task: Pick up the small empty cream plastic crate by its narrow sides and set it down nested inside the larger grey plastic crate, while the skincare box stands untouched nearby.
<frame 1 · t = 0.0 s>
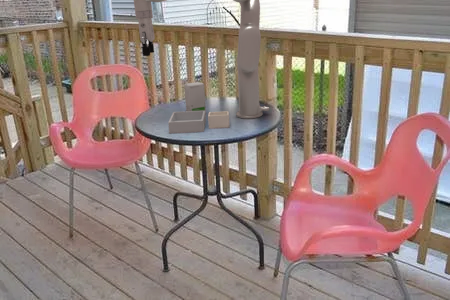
hand: (148, 54, 196), 31 cm above the table, tool pointing down, fingers open, 9 cm apart
small crate: (219, 126, 192), on the table
skincare box: (196, 115, 211), on the table
base crate: (188, 126, 193), on the table
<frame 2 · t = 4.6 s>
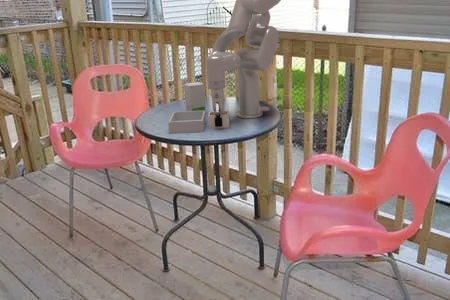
hand: (219, 123, 192), 1 cm above the table, tool pointing down, fingers closed on small crate, 6 cm apart
small crate: (219, 126, 192), on the table, touching gripper
everything else where it was.
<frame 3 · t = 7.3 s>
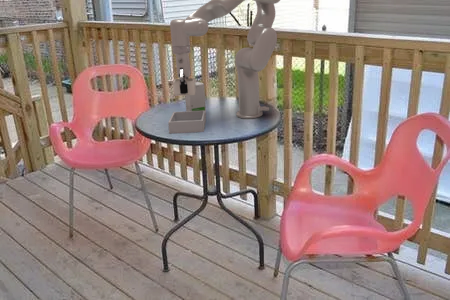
hand: (185, 91, 187), 16 cm above the table, tool pointing down, fingers closed on small crate, 6 cm apart
small crate: (185, 93, 188), point 15 cm above the table, touching gripper
everything else where it was.
when the fingers open (5 cm above the table, at t = 10.2 s): small crate drops 2 cm, resting on base crate.
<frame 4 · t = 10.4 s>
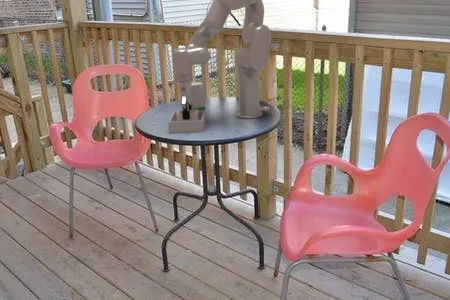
hand: (187, 116, 192), 5 cm above the table, tool pointing down, fingers open, 8 cm apart
small crate: (188, 124, 193), point 1 cm above the table, touching base crate
everything else where it was.
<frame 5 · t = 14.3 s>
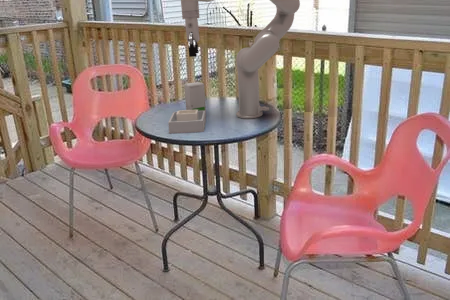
hand: (193, 54, 193), 30 cm above the table, tool pointing down, fingers open, 9 cm apart
nothing on the table moved.
at the end: small crate inside the target area on the base crate (0.1 cm from its centre), point 1.0 cm above the base crate's base; small crate tilted 0°; the gripper is holding nothing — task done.
